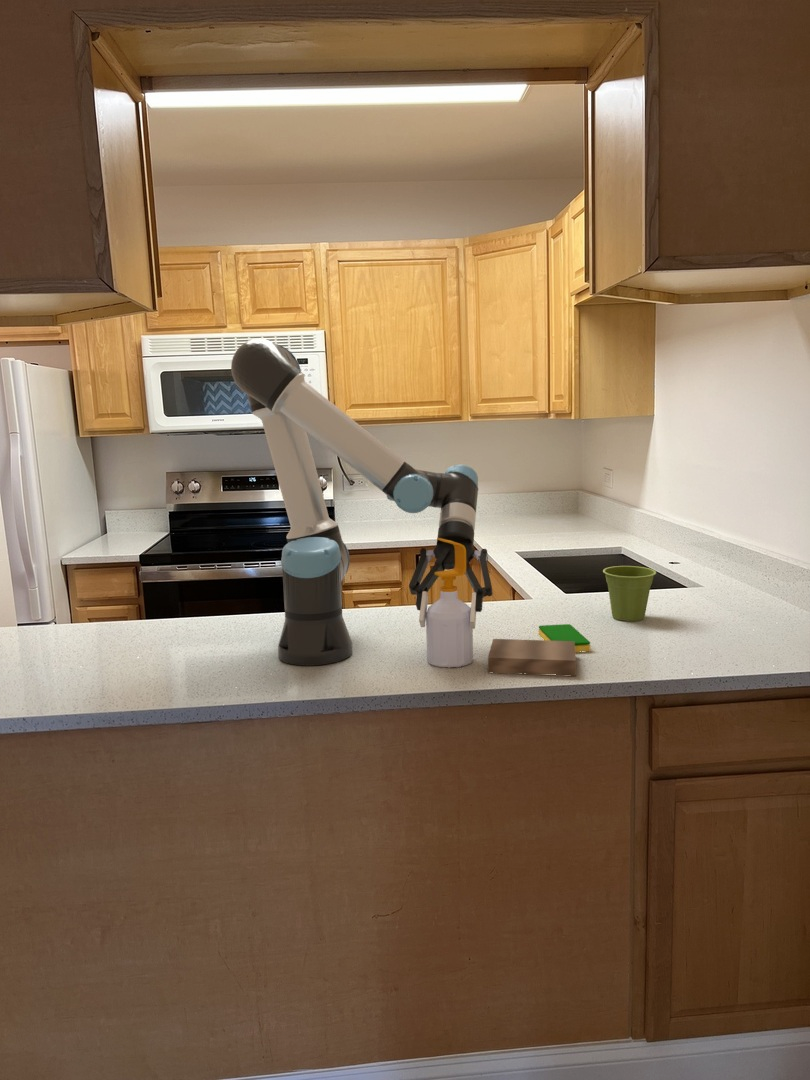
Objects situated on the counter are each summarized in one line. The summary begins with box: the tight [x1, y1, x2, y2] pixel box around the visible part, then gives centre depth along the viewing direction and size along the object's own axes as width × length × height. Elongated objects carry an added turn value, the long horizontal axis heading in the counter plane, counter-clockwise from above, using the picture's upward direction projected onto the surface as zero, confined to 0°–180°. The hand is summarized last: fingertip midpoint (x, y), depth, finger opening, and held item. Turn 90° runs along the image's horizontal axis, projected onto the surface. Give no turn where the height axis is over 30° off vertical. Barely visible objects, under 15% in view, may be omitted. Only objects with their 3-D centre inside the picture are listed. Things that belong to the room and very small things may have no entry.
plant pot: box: [602, 565, 657, 622], centre depth 173 cm, size 12×12×11 cm
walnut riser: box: [487, 638, 577, 677], centre depth 143 cm, size 16×12×3 cm
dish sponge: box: [538, 623, 591, 653], centre depth 157 cm, size 7×14×2 cm, turn 5°
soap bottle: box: [425, 538, 474, 669], centre depth 145 cm, size 9×9×25 cm
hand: (447, 624), depth 142 cm, fingers closed on soap bottle, 9 cm apart
